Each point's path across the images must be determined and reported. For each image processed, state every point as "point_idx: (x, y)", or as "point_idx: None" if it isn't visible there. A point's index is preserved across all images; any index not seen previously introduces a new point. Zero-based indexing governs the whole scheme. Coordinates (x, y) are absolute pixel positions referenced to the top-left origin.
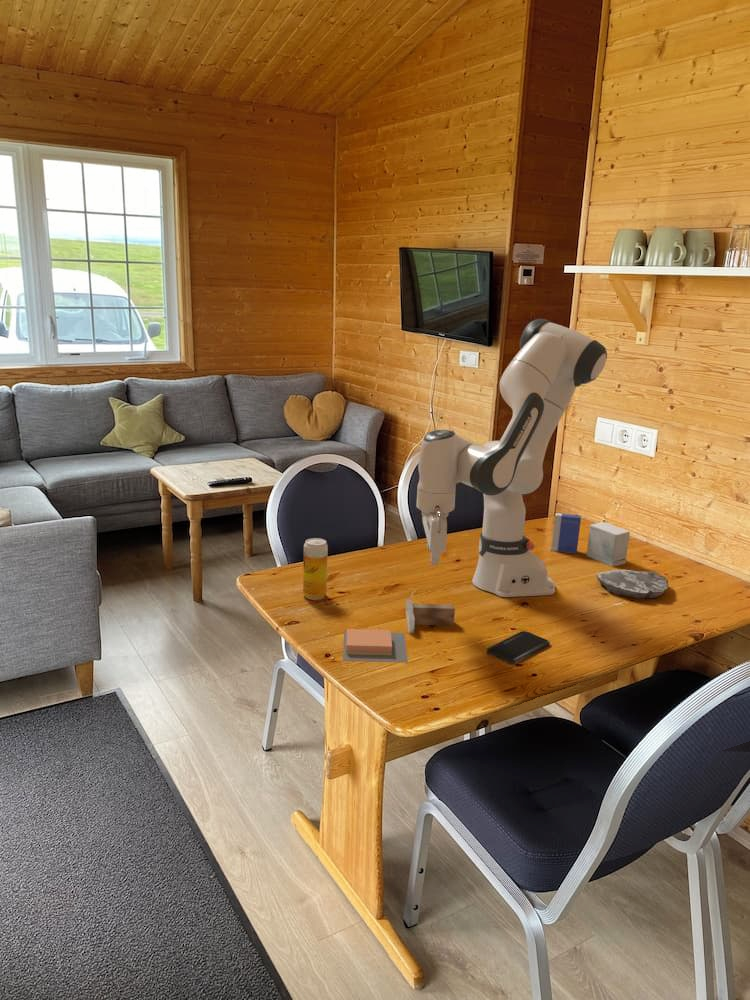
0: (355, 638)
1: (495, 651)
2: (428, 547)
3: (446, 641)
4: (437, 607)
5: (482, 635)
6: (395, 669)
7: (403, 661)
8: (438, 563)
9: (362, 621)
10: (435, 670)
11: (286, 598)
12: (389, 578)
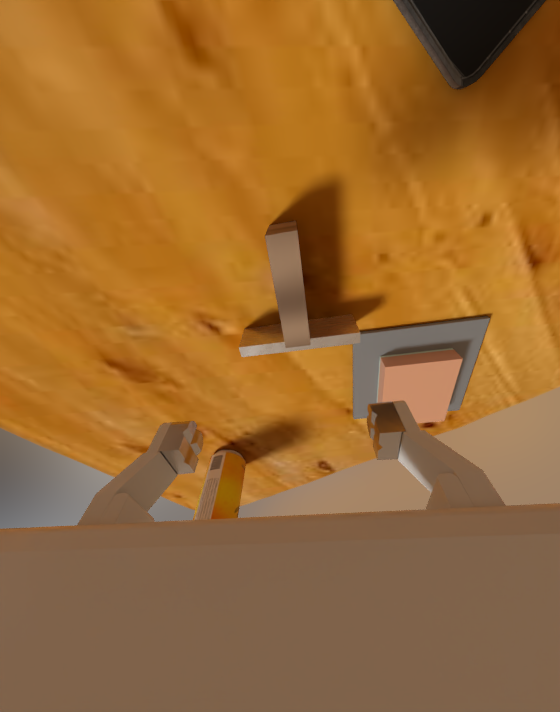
0: (418, 412)
1: (484, 44)
2: (197, 450)
3: (381, 236)
4: (299, 286)
5: (337, 111)
6: (502, 334)
7: (484, 325)
8: (406, 404)
9: (303, 399)
10: (532, 255)
11: (249, 479)
12: (89, 378)
